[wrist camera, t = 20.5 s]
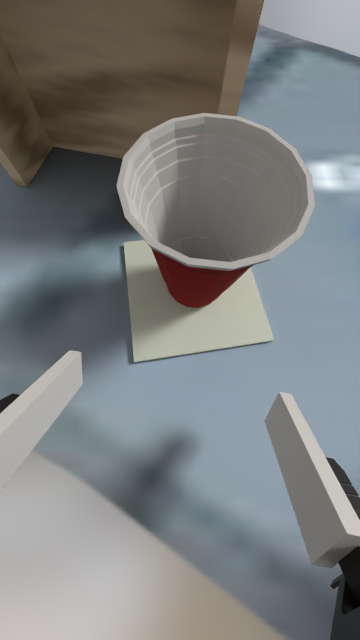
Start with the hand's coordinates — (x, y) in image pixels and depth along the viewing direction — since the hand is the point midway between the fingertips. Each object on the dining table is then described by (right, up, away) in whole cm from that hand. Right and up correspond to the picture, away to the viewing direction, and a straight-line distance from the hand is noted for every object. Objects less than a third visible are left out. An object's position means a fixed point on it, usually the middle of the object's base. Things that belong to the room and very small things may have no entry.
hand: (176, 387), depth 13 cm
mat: (+2, +8, +9) cm, 12 cm away
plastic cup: (+2, +8, +9) cm, 12 cm away
